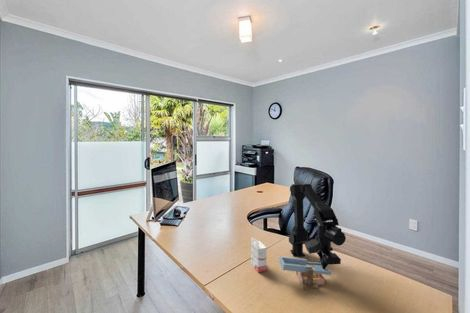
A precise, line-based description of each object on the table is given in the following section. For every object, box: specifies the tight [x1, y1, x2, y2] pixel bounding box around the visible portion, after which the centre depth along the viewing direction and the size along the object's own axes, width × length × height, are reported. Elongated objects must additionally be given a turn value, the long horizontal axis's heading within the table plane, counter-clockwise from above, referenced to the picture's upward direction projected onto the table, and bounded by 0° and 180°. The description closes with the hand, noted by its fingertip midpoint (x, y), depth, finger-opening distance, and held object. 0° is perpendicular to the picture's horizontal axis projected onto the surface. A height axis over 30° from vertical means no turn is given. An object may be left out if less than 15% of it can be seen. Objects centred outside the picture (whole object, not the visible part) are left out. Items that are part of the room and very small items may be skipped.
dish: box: [296, 272, 326, 286], centre depth 102 cm, size 10×7×3 cm
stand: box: [295, 265, 319, 290], centre depth 101 cm, size 6×11×8 cm, turn 3°
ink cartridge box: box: [250, 236, 268, 273], centre depth 112 cm, size 9×5×15 cm, turn 21°
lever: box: [278, 256, 332, 276], centre depth 101 cm, size 22×7×3 cm, turn 93°
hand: (323, 268), depth 102 cm, fingers closed, pressing on lever
